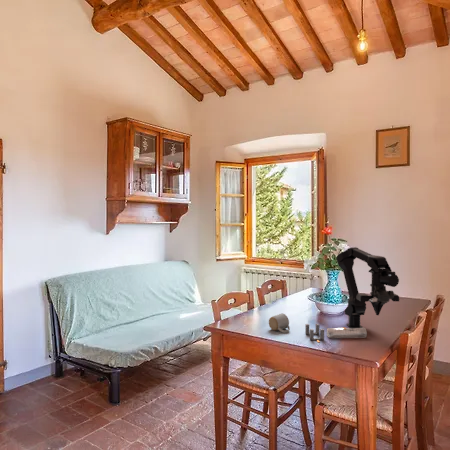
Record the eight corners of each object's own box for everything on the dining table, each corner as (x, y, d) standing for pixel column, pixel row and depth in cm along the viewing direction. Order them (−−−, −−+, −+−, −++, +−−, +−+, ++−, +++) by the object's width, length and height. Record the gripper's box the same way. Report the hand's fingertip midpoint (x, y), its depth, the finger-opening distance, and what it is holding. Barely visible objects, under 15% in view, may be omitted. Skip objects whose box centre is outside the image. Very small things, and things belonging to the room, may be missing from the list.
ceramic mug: (267, 329, 191) (267, 314, 191) (279, 326, 196) (279, 311, 195) (281, 334, 182) (282, 319, 182) (293, 331, 187) (294, 316, 187)
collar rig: (304, 332, 185) (304, 322, 185) (317, 332, 186) (317, 322, 186) (311, 342, 171) (312, 331, 171) (325, 342, 171) (326, 331, 171)
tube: (329, 339, 176) (329, 329, 176) (326, 336, 181) (326, 326, 180) (366, 338, 177) (367, 329, 177) (363, 335, 181) (363, 326, 181)
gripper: (365, 286, 170) (365, 320, 171) (405, 286, 171) (405, 319, 171) (356, 281, 181) (355, 313, 182) (393, 281, 182) (393, 313, 182)
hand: (377, 315), depth 179 cm, fingers closed
